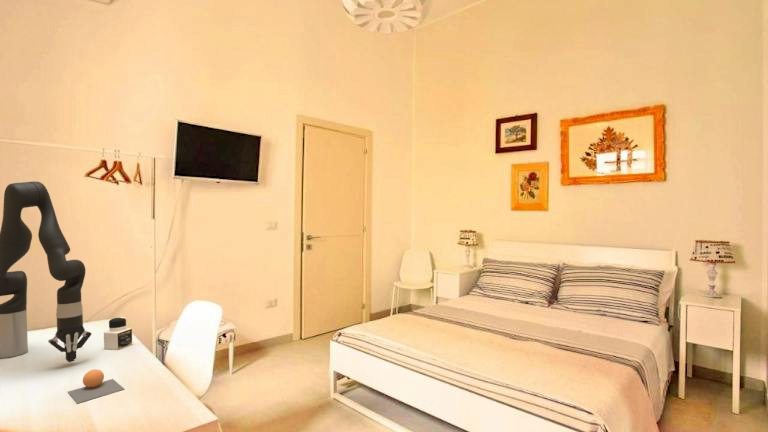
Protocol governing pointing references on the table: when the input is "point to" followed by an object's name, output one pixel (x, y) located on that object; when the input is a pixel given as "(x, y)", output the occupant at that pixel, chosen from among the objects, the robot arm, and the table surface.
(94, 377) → the ball
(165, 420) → the table surface
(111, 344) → the medicine bottle
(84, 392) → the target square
